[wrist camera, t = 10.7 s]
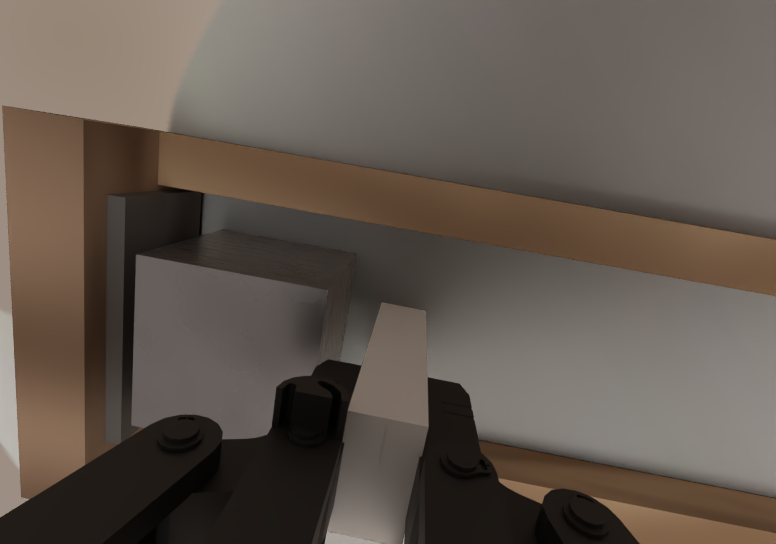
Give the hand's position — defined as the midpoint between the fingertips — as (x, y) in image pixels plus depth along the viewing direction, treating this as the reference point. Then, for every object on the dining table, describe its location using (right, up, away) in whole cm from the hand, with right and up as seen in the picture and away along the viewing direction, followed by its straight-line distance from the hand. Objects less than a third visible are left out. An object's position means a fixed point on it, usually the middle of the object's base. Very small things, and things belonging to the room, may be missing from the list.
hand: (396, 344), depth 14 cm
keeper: (-4, +1, +2) cm, 5 cm away
